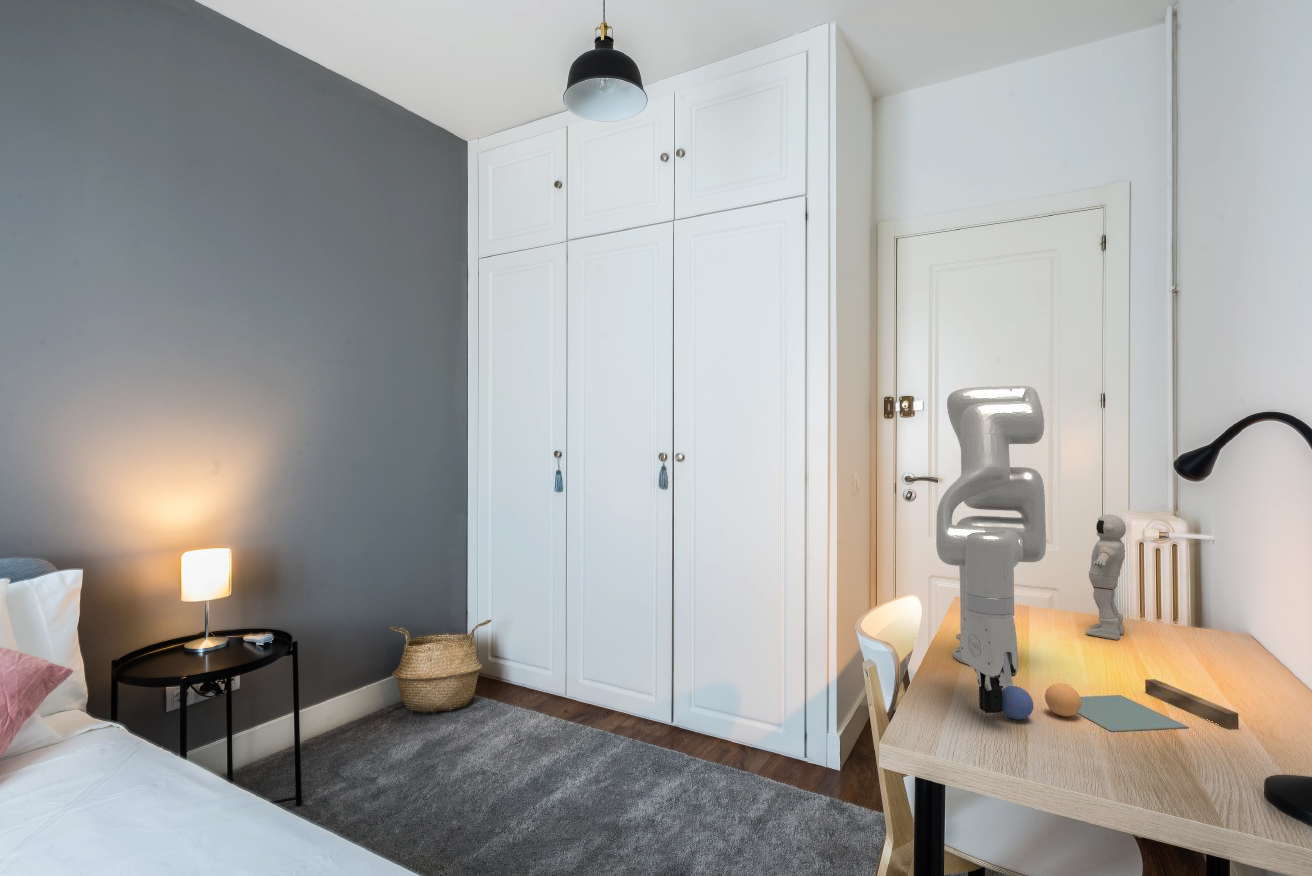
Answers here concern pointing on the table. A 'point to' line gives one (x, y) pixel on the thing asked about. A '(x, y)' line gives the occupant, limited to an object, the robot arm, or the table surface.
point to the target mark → (1124, 714)
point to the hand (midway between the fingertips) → (990, 710)
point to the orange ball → (1063, 699)
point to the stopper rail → (1192, 703)
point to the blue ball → (1016, 702)
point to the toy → (1107, 576)
